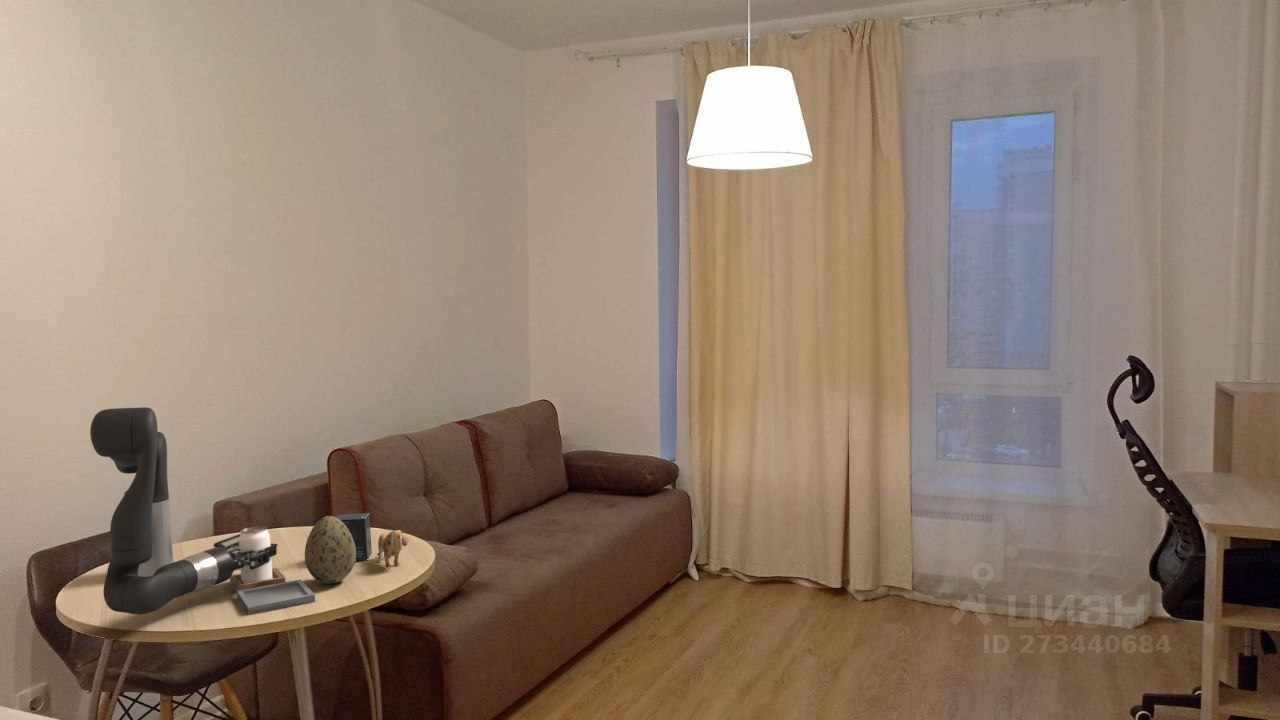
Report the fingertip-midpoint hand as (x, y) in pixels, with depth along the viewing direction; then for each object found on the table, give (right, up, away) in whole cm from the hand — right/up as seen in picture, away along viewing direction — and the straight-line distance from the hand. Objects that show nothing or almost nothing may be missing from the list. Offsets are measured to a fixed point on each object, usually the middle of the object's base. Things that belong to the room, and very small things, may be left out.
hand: (264, 548), depth 208 cm
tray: (+8, -8, -14) cm, 18 cm away
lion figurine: (+26, -6, +11) cm, 28 cm away
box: (+15, -6, +16) cm, 23 cm away
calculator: (-16, -6, +27) cm, 32 cm away
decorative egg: (+16, -7, -3) cm, 18 cm away
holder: (-1, -7, -2) cm, 8 cm away
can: (-1, -7, -2) cm, 8 cm away
